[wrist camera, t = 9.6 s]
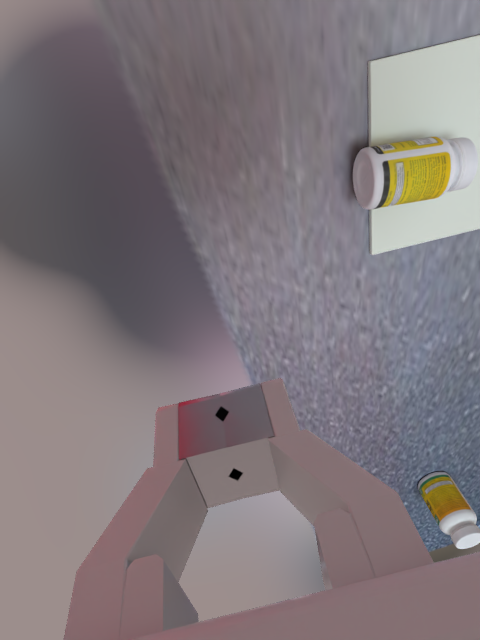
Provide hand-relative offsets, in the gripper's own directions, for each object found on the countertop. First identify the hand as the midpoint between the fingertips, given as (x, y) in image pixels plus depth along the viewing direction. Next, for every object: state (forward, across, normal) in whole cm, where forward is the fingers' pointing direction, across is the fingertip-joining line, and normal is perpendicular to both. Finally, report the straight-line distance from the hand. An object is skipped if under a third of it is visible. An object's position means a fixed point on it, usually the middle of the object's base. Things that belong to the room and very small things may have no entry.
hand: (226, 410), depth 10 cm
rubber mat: (+27, -21, +4) cm, 35 cm away
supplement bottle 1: (+24, -13, +4) cm, 28 cm away
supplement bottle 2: (+27, -25, +55) cm, 66 cm away
